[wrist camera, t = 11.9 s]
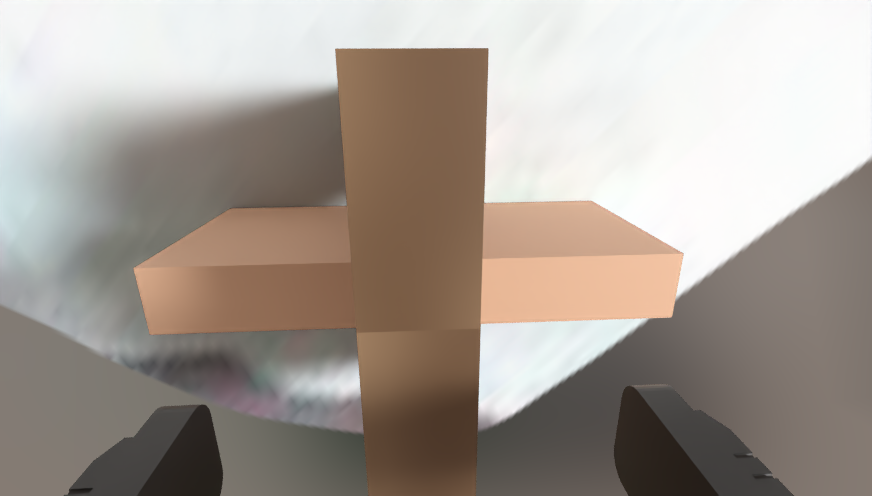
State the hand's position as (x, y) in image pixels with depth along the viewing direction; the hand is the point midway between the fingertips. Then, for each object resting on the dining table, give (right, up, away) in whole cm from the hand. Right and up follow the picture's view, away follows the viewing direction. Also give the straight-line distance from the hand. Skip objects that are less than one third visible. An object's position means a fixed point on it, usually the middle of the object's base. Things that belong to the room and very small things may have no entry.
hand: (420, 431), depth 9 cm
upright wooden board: (-1, +5, +14) cm, 15 cm away
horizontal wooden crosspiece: (-1, +5, +14) cm, 15 cm away
